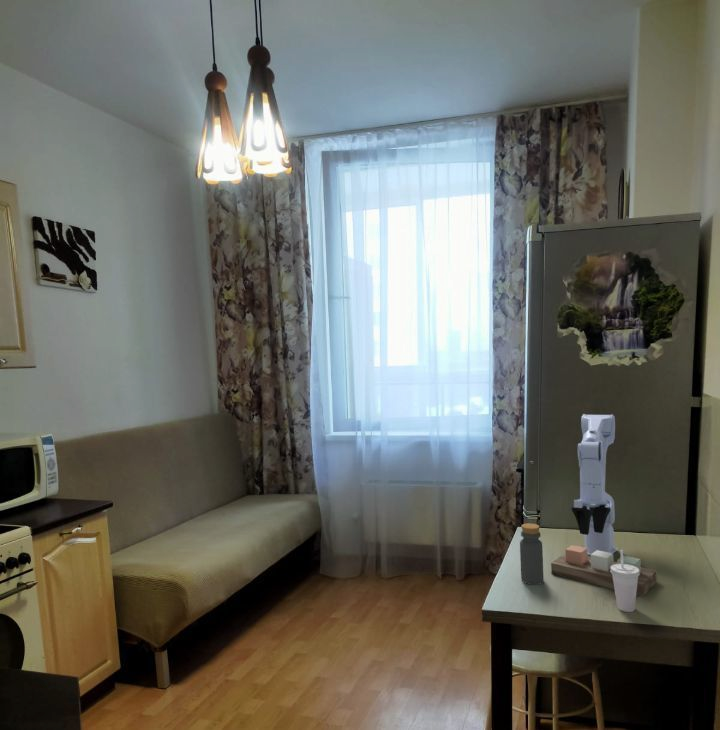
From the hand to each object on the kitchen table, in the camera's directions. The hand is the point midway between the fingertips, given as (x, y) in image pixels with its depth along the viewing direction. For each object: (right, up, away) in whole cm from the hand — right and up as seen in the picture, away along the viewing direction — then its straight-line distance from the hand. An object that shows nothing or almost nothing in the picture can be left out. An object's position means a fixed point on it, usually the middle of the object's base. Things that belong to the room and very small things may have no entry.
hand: (591, 533), depth 160 cm
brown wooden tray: (+1, -11, -5) cm, 12 cm away
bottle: (-18, -12, -5) cm, 22 cm away
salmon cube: (-4, -8, 0) cm, 9 cm away
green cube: (+6, -8, -10) cm, 14 cm away
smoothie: (-1, -11, -23) cm, 26 cm away
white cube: (+1, -8, -5) cm, 10 cm away
